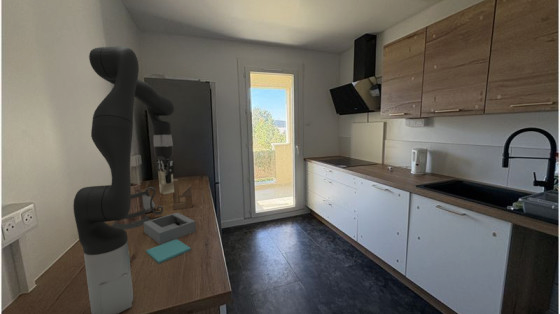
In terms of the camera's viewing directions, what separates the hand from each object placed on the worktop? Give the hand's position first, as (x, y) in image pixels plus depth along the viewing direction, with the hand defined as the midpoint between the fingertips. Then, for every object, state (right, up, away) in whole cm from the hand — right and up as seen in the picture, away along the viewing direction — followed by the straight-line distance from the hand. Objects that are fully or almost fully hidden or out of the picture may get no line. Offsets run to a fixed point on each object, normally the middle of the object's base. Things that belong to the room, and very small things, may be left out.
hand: (166, 182), depth 103 cm
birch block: (0, -5, +1) cm, 5 cm away
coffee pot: (-30, -20, +35) cm, 50 cm away
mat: (+8, -26, -14) cm, 30 cm away
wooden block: (-8, -20, +36) cm, 42 cm away
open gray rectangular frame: (0, -24, +3) cm, 24 cm away
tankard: (-23, -23, +16) cm, 36 cm away
